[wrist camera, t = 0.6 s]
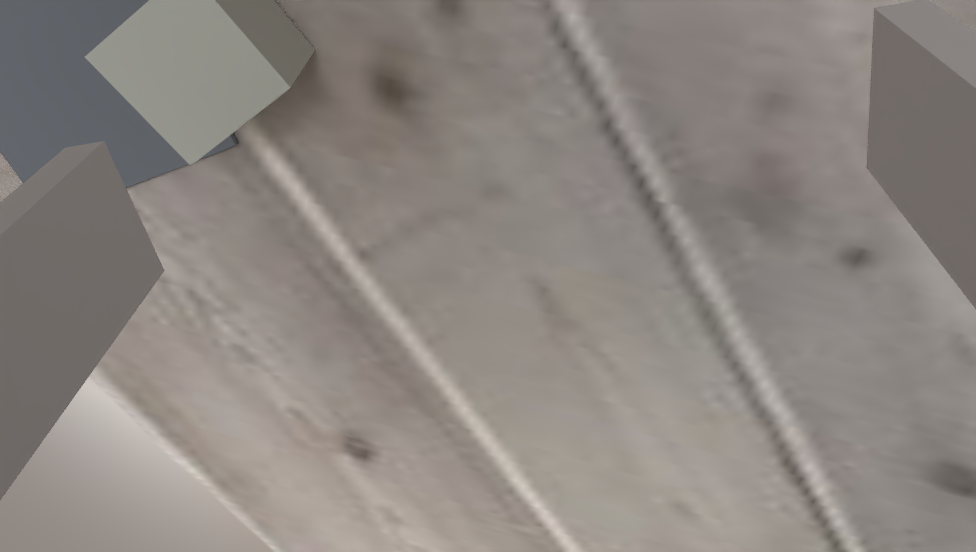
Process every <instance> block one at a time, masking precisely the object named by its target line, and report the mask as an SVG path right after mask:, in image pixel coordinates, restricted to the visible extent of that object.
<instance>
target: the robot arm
mask: <svg viewBox="0 0 976 552" xmlns="http://www.w3.org/2000/svg"><path fill="white" fill-rule="evenodd" d="M867 169H868V170H869V171H870V173H871V174H872V175H873V177H874V178H875V179H876V180H877V182H878V183H879V184H880V186H881V187H882V188H883V189H884V191H885V192H886V193H887V195H888V196H889V197H890V199H891V200H892V201H893V202H894V204H895V205H896V206H897V208H898V209H899V210H900V212H901V213H902V214H903V215H904V217H905V218H906V219H907V221H908V222H909V223H910V224H911V226H912V227H913V228H914V230H915V231H916V232H917V234H918V235H919V236H920V237H921V239H922V240H923V241H924V243H925V244H926V245H927V246H928V248H929V249H930V250H931V252H932V253H933V254H934V256H935V257H936V258H937V259H938V261H939V262H940V263H941V265H942V266H943V267H944V268H945V270H946V271H947V272H948V274H949V275H950V276H951V278H952V279H953V280H954V281H955V283H956V284H957V285H958V287H959V288H960V289H961V290H962V292H963V293H964V294H965V296H966V297H967V298H968V300H969V301H970V302H971V303H972V305H973V306H974V307H975V309H976V32H975V31H974V30H972V29H970V28H969V27H967V26H966V25H964V24H963V23H961V22H960V21H958V20H957V19H955V18H954V17H952V16H951V15H949V14H948V13H946V12H945V11H943V10H942V9H940V8H939V7H937V6H936V5H934V4H933V3H931V2H930V1H928V0H918V1H913V2H907V3H901V4H895V5H889V6H884V7H878V8H874V21H873V42H872V64H871V85H870V107H869V128H868V150H867ZM163 272H164V269H163V267H162V264H161V262H160V260H159V258H158V256H157V254H156V252H155V249H154V247H153V245H152V243H151V241H150V239H149V237H148V234H147V232H146V230H145V228H144V226H143V224H142V222H141V219H140V217H139V215H138V213H137V211H136V209H135V206H134V204H133V202H132V200H131V198H130V196H129V194H128V191H127V189H126V187H125V185H124V183H123V181H122V179H121V176H120V174H119V172H118V170H117V168H116V166H115V164H114V161H113V159H112V157H111V155H110V153H109V151H108V148H107V146H106V144H105V142H104V141H101V142H95V143H90V144H84V145H78V146H72V147H67V148H64V149H63V150H62V151H61V152H60V153H58V154H57V155H56V156H55V157H54V158H52V159H51V160H50V161H49V162H48V163H47V164H45V165H44V166H43V167H42V168H41V169H39V170H38V171H37V172H36V173H35V174H34V175H32V176H31V177H30V178H29V179H28V180H27V181H25V182H24V183H23V184H22V185H21V186H19V187H18V188H17V189H16V190H15V191H14V192H12V193H11V194H10V195H9V196H8V197H7V198H5V199H4V200H3V201H2V202H1V203H0V500H1V498H2V497H3V496H4V494H5V493H6V491H7V490H8V489H9V487H10V486H11V484H12V483H13V482H14V480H15V479H16V478H17V476H18V475H19V473H20V472H21V470H22V469H23V468H24V466H25V465H26V463H27V462H28V461H29V459H30V458H31V457H32V455H33V454H34V452H35V451H36V449H37V448H38V447H39V445H40V444H41V442H42V441H43V440H44V438H45V437H46V435H47V434H48V433H49V431H50V430H51V428H52V427H53V426H54V424H55V423H56V421H57V420H58V419H59V417H60V416H61V414H62V413H63V412H64V410H65V409H66V407H67V406H68V405H69V403H70V402H71V400H72V399H73V398H74V396H75V395H76V393H77V392H78V391H79V389H80V388H81V386H82V385H83V384H84V382H85V381H86V379H87V378H88V377H89V375H90V374H91V372H92V371H93V370H94V368H95V367H96V365H97V364H98V363H99V361H100V360H101V358H102V357H103V356H104V354H105V353H106V351H107V350H108V349H109V347H110V346H111V344H112V343H113V342H114V340H115V339H116V337H117V336H118V335H119V333H120V332H121V330H122V329H123V328H124V326H125V325H126V323H127V322H128V321H129V319H130V318H131V316H132V315H133V314H134V312H135V311H136V309H137V308H138V307H139V305H140V304H141V302H142V301H143V300H144V298H145V297H146V295H147V294H148V293H149V291H150V290H151V288H152V287H153V286H154V284H155V283H156V281H157V280H158V279H159V277H160V276H161V274H162V273H163Z"/></svg>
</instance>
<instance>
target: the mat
mask: <svg viewBox="0 0 976 552" xmlns="http://www.w3.org/2000/svg"><path fill="white" fill-rule="evenodd" d="M148 1H149V0H0V152H1V153H2V155H3V156H4V157H5V159H6V160H7V161H8V163H9V164H10V166H11V167H12V168H13V170H14V171H15V172H16V174H17V175H18V176H19V178H20V179H21V180H22V182H23V183H24V182H25V181H27V180H28V179H29V178H30V177H31V176H32V175H34V174H35V173H36V172H37V171H38V170H39V169H41V168H42V167H43V166H44V165H45V164H47V163H48V162H49V161H50V160H51V159H52V158H54V157H55V156H56V155H57V154H58V153H60V152H61V151H62V150H63V149H64V148H67V147H72V146H78V145H84V144H90V143H95V142H101V141H104V142H105V144H106V146H107V148H108V151H109V153H110V155H111V157H112V159H113V161H114V164H115V166H116V168H117V170H118V172H119V174H120V176H121V179H122V181H123V183H124V185H125V187H126V188H127V187H130V186H132V185H135V184H137V183H140V182H143V181H145V180H148V179H150V178H153V177H156V176H158V175H161V174H163V173H166V172H169V171H171V170H174V169H176V168H179V167H182V166H184V165H187V164H188V163H187V162H186V161H185V160H184V159H183V158H182V157H181V156H180V155H179V153H178V152H177V151H176V150H175V149H174V148H173V147H172V146H171V145H170V144H169V143H168V142H167V141H166V140H165V139H164V138H163V137H162V136H161V135H160V134H159V133H158V132H157V131H156V130H155V129H154V128H153V127H152V126H151V125H150V124H149V123H148V122H147V121H146V120H145V119H144V118H143V117H142V116H141V114H140V113H139V112H138V111H137V110H136V109H135V108H134V107H133V106H132V105H131V104H130V103H129V102H128V101H127V100H126V99H125V98H124V97H123V96H122V95H121V94H120V93H119V92H118V91H117V90H116V89H115V88H114V87H113V86H112V85H111V84H110V83H109V82H108V81H107V80H106V79H105V78H104V77H103V75H102V74H101V73H100V72H99V71H98V70H97V69H96V68H95V67H94V66H93V65H92V64H91V63H90V62H89V61H88V60H87V59H86V58H85V56H86V55H87V54H88V53H90V52H91V51H92V50H93V49H94V48H95V47H96V46H98V45H99V44H100V43H101V42H102V41H103V40H104V39H106V38H107V37H108V36H109V35H110V34H111V33H112V32H114V31H115V30H116V29H117V28H118V27H119V26H120V25H122V24H123V23H124V22H125V21H126V20H127V19H128V18H129V17H131V16H132V15H133V14H134V13H135V12H136V11H137V10H139V9H140V8H141V7H142V6H143V5H144V4H145V3H147V2H148ZM237 144H238V141H237V139H236V137H235V136H234V134H233V133H232V134H231V135H230V136H228V137H227V138H226V139H224V140H223V141H222V142H221V143H219V144H218V145H217V146H215V147H214V148H213V149H212V150H210V151H209V152H208V153H207V154H205V155H204V156H203V157H201V158H200V159H203V158H205V157H208V156H210V155H213V154H216V153H218V152H221V151H223V150H226V149H229V148H231V147H234V146H236V145H237ZM200 159H199V160H200Z"/></svg>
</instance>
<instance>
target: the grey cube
mask: <svg viewBox="0 0 976 552" xmlns="http://www.w3.org/2000/svg"><path fill="white" fill-rule="evenodd" d="M314 51H315V49H314V48H313V47H312V45H311V44H310V43H309V42H308V41H307V39H306V38H305V37H304V36H303V35H302V33H301V32H300V31H299V30H298V29H297V27H296V26H295V25H294V24H293V23H292V21H291V20H290V19H289V18H288V17H287V15H286V14H285V13H284V12H283V10H282V9H281V8H280V7H279V6H278V4H277V3H276V2H275V1H274V0H149V1H148V2H147V3H145V4H144V5H143V6H142V7H141V8H140V9H139V10H137V11H136V12H135V13H134V14H133V15H132V16H131V17H129V18H128V19H127V20H126V21H125V22H124V23H123V24H122V25H120V26H119V27H118V28H117V29H116V30H115V31H114V32H112V33H111V34H110V35H109V36H108V37H107V38H106V39H104V40H103V41H102V42H101V43H100V44H99V45H98V46H96V47H95V48H94V49H93V50H92V51H91V52H90V53H88V54H87V55H86V56H85V58H86V59H87V60H88V61H89V62H90V63H91V64H92V65H93V66H94V67H95V68H96V69H97V70H98V71H99V72H100V73H101V74H102V75H103V77H104V78H105V79H106V80H107V81H108V82H109V83H110V84H111V85H112V86H113V87H114V88H115V89H116V90H117V91H118V92H119V93H120V94H121V95H122V96H123V97H124V98H125V99H126V100H127V101H128V102H129V103H130V104H131V105H132V106H133V107H134V108H135V109H136V110H137V111H138V112H139V113H140V114H141V116H142V117H143V118H144V119H145V120H146V121H147V122H148V123H149V124H150V125H151V126H152V127H153V128H154V129H155V130H156V131H157V132H158V133H159V134H160V135H161V136H162V137H163V138H164V139H165V140H166V141H167V142H168V143H169V144H170V145H171V146H172V147H173V148H174V149H175V150H176V151H177V152H178V153H179V155H180V156H181V157H182V158H183V159H184V160H185V161H186V162H187V163H188V164H189V165H190V166H191V165H192V164H194V163H195V162H196V161H198V160H199V159H200V158H201V157H203V156H204V155H205V154H207V153H208V152H209V151H210V150H212V149H213V148H214V147H215V146H217V145H218V144H219V143H221V142H222V141H223V140H224V139H226V138H227V137H228V136H230V135H231V134H232V133H233V132H235V131H236V130H237V129H239V128H240V127H241V126H242V125H244V124H245V123H246V122H248V121H249V120H250V119H251V118H253V117H254V116H255V115H257V114H258V113H259V112H260V111H262V110H263V109H264V108H266V107H267V106H268V105H269V104H271V103H272V102H273V101H275V100H276V99H277V98H278V97H280V96H281V95H282V94H284V93H285V92H286V91H287V90H289V89H290V88H291V87H292V85H293V84H294V82H295V81H296V79H297V77H298V76H299V74H300V73H301V71H302V70H303V68H304V67H305V65H306V64H307V62H308V60H309V59H310V57H311V56H312V54H313V53H314Z"/></svg>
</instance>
